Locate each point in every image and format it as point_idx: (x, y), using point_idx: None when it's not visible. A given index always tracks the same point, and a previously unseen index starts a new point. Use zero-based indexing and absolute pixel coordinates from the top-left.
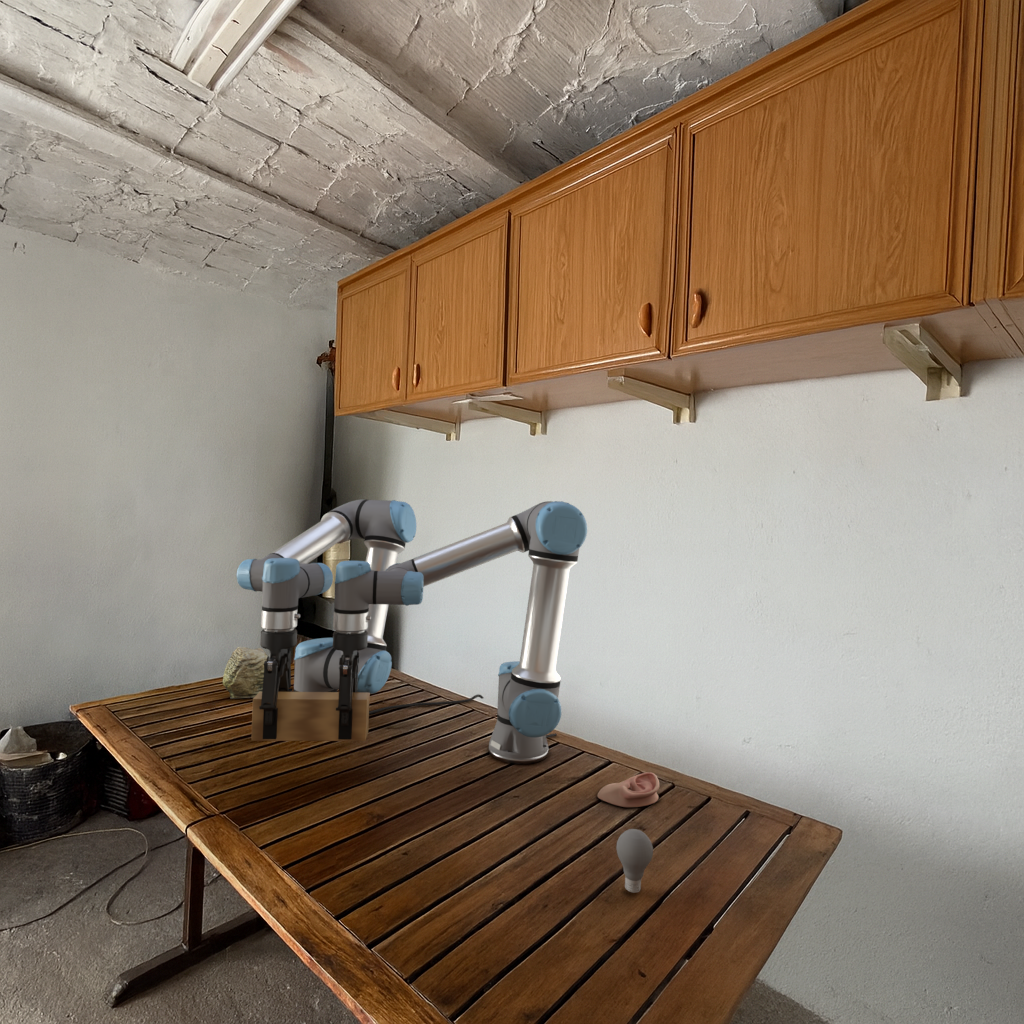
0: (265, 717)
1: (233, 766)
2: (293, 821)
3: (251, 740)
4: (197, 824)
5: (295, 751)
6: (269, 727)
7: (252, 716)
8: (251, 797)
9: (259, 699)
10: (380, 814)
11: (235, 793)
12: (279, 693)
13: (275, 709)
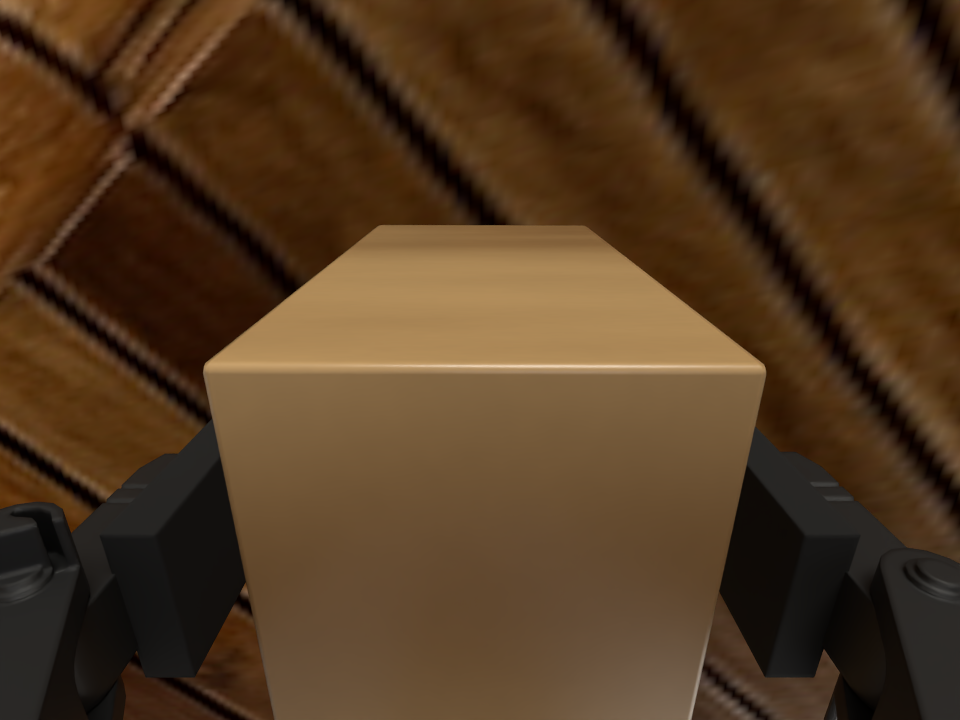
0: (101, 510)
1: (688, 7)
2: (132, 450)
3: (378, 226)
4: (5, 57)
5: (840, 314)
6: None
7: (320, 274)
8: (305, 235)
9: (227, 486)
10: (234, 679)
11: (340, 141)
12: (583, 713)
13: (148, 656)
